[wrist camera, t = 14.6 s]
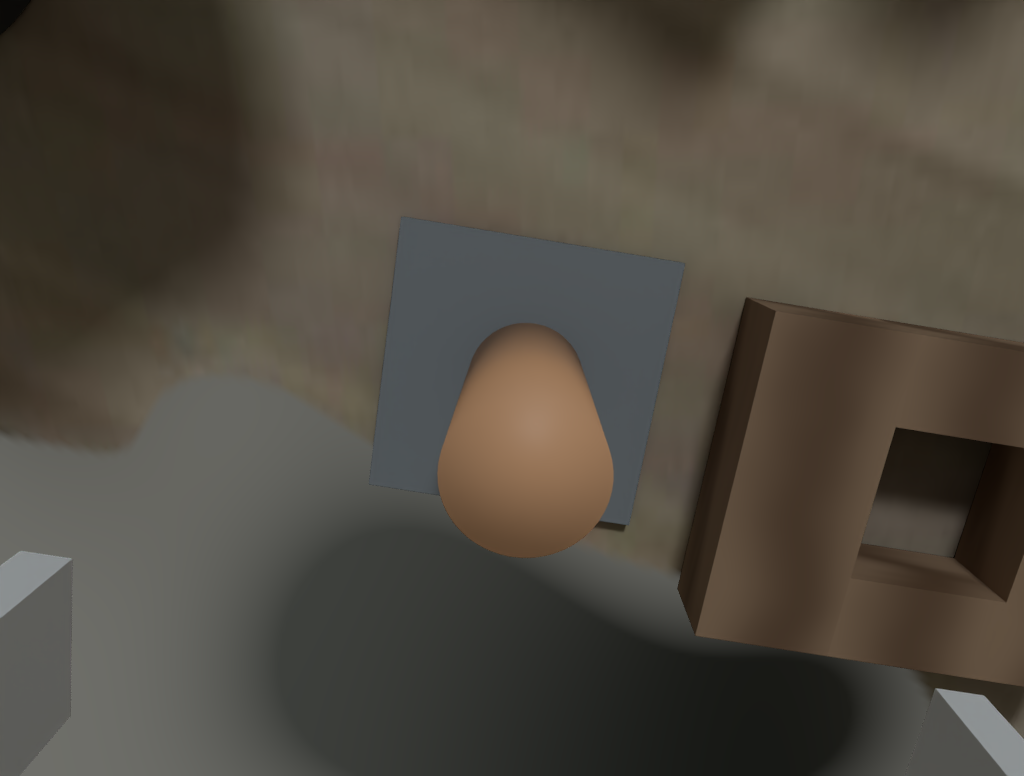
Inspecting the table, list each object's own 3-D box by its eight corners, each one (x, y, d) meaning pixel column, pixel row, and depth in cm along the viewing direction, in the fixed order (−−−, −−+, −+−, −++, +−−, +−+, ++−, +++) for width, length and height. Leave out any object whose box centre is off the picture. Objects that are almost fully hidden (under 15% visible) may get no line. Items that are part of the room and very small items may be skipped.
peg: (460, 423, 34) (425, 542, 22) (478, 313, 33) (451, 377, 21) (570, 443, 34) (594, 570, 22) (593, 333, 33) (630, 408, 21)
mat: (370, 480, 35) (368, 484, 35) (403, 216, 32) (401, 217, 32) (627, 520, 35) (628, 525, 35) (682, 262, 32) (685, 263, 32)
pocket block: (677, 588, 36) (695, 635, 32) (746, 297, 33) (775, 311, 29) (1047, 646, 37) (1108, 699, 33) (1153, 364, 33) (1237, 386, 29)
